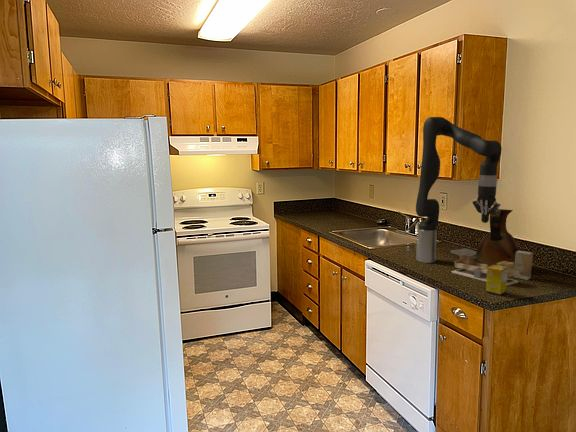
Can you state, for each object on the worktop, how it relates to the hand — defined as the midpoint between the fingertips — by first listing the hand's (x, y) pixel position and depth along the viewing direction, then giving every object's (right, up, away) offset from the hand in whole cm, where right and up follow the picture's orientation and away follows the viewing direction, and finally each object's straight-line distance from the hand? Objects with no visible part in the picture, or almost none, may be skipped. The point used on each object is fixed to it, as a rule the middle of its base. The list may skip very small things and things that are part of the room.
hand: (484, 222), depth 199 cm
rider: (-5, -21, +8) cm, 23 cm away
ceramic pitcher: (+14, -23, +18) cm, 32 cm away
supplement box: (-5, -29, -20) cm, 36 cm away
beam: (0, -22, +1) cm, 22 cm away
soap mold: (+10, -20, +42) cm, 48 cm away
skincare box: (+17, -26, -1) cm, 31 cm away
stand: (0, -25, +2) cm, 25 cm away
